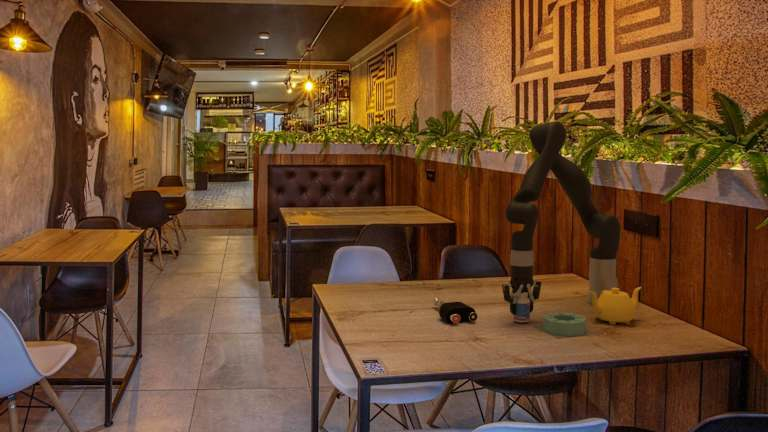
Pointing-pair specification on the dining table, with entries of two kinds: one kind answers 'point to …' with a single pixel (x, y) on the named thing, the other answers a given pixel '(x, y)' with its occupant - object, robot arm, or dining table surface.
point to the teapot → (615, 305)
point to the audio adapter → (455, 311)
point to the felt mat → (564, 336)
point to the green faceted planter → (564, 324)
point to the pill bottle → (522, 308)
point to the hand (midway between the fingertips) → (521, 312)
